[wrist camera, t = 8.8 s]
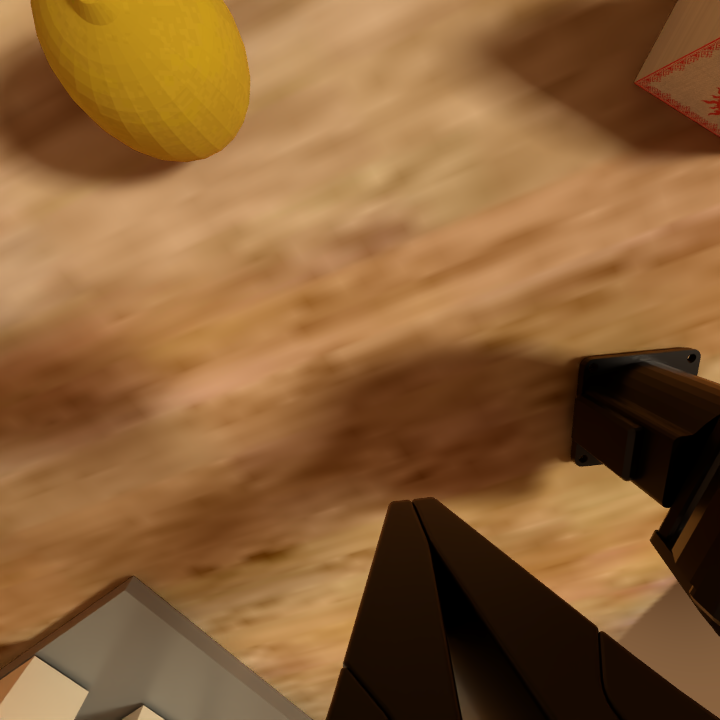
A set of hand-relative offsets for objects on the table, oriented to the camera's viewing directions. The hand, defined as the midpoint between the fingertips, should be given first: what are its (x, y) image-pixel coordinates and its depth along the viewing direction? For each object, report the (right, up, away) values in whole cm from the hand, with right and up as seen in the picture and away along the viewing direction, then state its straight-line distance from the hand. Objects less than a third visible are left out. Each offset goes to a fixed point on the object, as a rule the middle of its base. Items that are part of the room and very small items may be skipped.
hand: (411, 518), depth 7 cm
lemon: (-8, +14, +9) cm, 18 cm away
